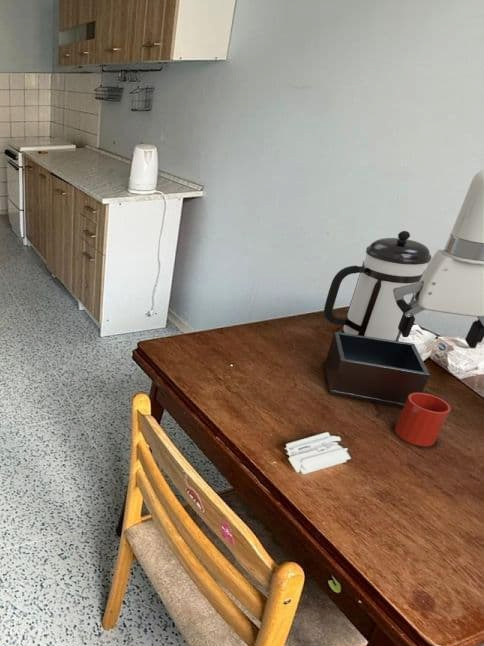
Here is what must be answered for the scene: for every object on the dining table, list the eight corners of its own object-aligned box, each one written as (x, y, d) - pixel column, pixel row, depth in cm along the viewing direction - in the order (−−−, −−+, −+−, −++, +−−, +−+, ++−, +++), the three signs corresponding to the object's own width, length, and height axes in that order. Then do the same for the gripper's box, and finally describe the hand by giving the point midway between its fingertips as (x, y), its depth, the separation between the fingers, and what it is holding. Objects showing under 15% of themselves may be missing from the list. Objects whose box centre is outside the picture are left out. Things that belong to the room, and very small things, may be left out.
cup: (429, 429, 94) (445, 397, 90) (438, 450, 89) (455, 416, 85) (391, 421, 97) (405, 389, 93) (398, 441, 91) (412, 408, 88)
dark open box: (400, 376, 110) (414, 343, 106) (414, 410, 99) (430, 374, 95) (324, 363, 116) (334, 331, 112) (329, 393, 105) (341, 359, 101)
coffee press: (349, 322, 135) (382, 218, 120) (412, 345, 122) (457, 232, 108) (313, 339, 127) (345, 230, 113) (377, 365, 115) (421, 247, 100)
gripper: (536, 247, 77) (490, 339, 85) (407, 236, 83) (376, 321, 91) (556, 262, 71) (505, 359, 79) (415, 249, 77) (381, 339, 86)
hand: (435, 339), depth 85 cm, fingers open, 9 cm apart
